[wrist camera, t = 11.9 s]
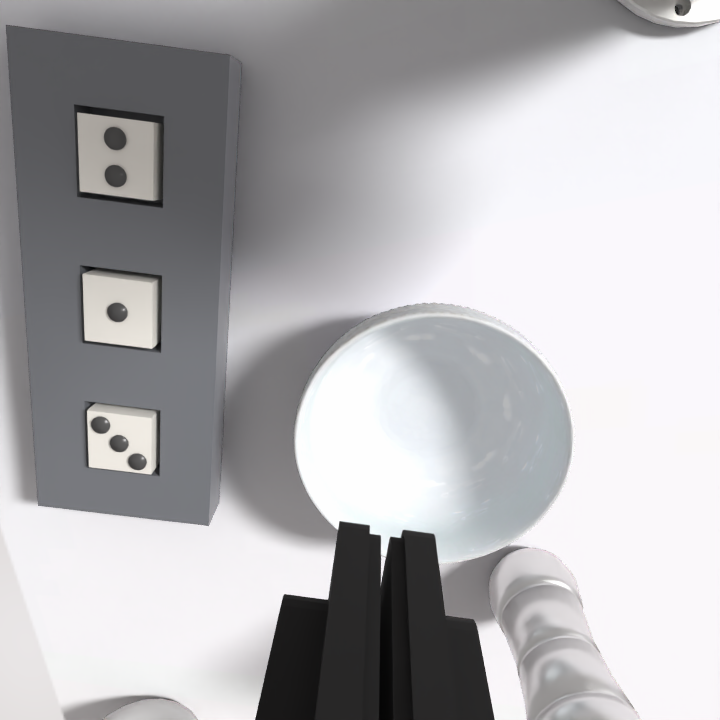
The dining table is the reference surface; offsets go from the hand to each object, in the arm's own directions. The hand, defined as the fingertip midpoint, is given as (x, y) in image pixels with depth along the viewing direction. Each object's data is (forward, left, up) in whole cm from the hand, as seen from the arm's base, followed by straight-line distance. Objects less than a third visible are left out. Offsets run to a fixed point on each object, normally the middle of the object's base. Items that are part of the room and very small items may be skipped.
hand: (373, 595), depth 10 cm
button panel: (+4, -15, -30) cm, 34 cm away
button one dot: (+4, -15, -29) cm, 33 cm away
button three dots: (+13, -15, -29) cm, 35 cm away
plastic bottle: (+22, +15, -30) cm, 40 cm away
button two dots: (-5, -15, -28) cm, 33 cm away
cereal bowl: (+9, +5, -30) cm, 32 cm away
